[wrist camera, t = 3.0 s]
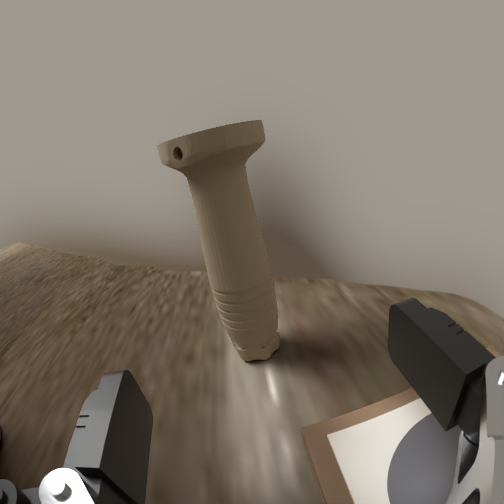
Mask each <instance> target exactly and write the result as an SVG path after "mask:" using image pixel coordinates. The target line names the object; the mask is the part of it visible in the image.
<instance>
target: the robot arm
mask: <svg viewBox="0 0 504 504" xmlns="http://www.w3.org/2000/svg"><path fill="white" fill-rule="evenodd" d="M388 350H389V354H390V357H391V359H392V361H393V363H394V364H395V365H396V366H397V368H398V369H399V370H400V372H401V373H402V374H403V376H404V377H405V378H406V379H407V381H408V382H409V383H410V385H411V386H412V387H413V389H414V390H415V391H416V393H417V394H418V395H419V397H420V398H421V399H422V401H423V402H424V403H425V405H426V406H427V407H428V409H429V410H430V411H431V413H432V414H433V415H434V417H435V418H436V419H437V421H438V422H439V423H440V425H441V426H442V428H443V429H444V430H445V432H446V431H448V430H450V429H451V428H453V427H455V426H456V425H459V427H460V428H461V429H462V430H461V433H460V436H459V445H458V454H457V461H456V468H455V474H454V480H453V485H452V489H451V492H450V495H449V497H448V499H447V502H446V504H504V356H500V357H497V358H496V357H495V356H494V355H493V354H491V353H490V352H489V351H488V350H487V349H486V348H485V347H484V346H483V345H481V344H480V343H479V342H478V341H477V340H476V339H475V338H473V337H472V336H471V335H470V334H469V333H468V332H467V331H464V329H463V328H462V327H461V326H460V325H458V324H456V322H455V321H454V320H452V319H451V318H450V317H449V316H448V315H447V314H445V313H443V312H441V311H438V310H436V309H433V308H428V309H427V308H426V307H425V306H424V305H423V304H421V303H420V302H419V301H418V300H417V299H415V298H410V299H407V300H405V301H402V302H399V303H396V304H394V305H392V306H391V307H390V310H389V333H388ZM152 425H153V416H152V411H151V408H150V405H149V403H148V402H147V400H146V398H145V396H144V395H143V393H142V391H141V390H140V388H139V386H138V384H137V382H136V381H135V379H134V377H133V375H132V374H131V372H130V371H128V370H123V371H116V372H109V373H105V374H104V375H103V376H102V379H101V382H100V385H99V388H98V390H94V391H93V392H92V393H91V394H90V396H89V397H88V398H87V399H86V401H85V402H84V404H83V407H82V410H81V413H80V418H78V421H77V424H76V427H77V428H76V429H75V430H74V433H73V436H72V439H71V442H70V446H69V449H68V452H67V455H66V459H65V462H64V465H63V468H61V469H56V470H54V471H52V472H50V473H49V474H48V475H46V476H45V478H44V479H43V480H42V482H41V484H40V487H35V488H30V489H24V490H20V489H19V488H17V487H16V486H15V485H14V484H13V483H12V482H10V481H9V480H6V479H0V504H145V497H146V484H147V472H148V461H149V451H150V442H151V433H152ZM0 439H1V430H0Z"/></svg>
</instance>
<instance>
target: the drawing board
mask: <svg viewBox="0 0 504 504" xmlns="http://www.w3.org/2000/svg"><path fill="white" fill-rule="evenodd" d="M486 349H487V350H488V351H489V352H490V353H491V354H493V355H494V356H495V357H496V358H497V357H500V356H501V355H500V354H498V353H497V352H496V351H495V350H494V349H493V348H492V347H491V346H489V347H488V348H486ZM461 430H462V429H461V428H460V427H459V425H456V426H455V427H453V428H451V429H450V430H448V431H446V432H445V430H444V429H443V428H442V426H441V425H440V423H439V422H438V421H437V419H436V418H435V417H434V415H433V414H432V413H431V411H430V410H429V409H428V407H427V406H426V405H425V403H424V402H423V401H422V399H421V398H420V397H419V395H418V394H417V393H416V391H415V390H414V389H413V387H412V388H410V389H407V390H405V391H403V392H401V393H398V394H396V395H394V396H391V397H389V398H386V399H384V400H382V401H379V402H377V403H374V404H371V405H369V406H366V407H363V408H361V409H358V410H355V411H352V412H350V413H347V414H344V415H341V416H338V417H335V418H332V419H329V420H326V421H322V422H319V423H316V424H312V425H309V426H306V427H302V428H301V431H302V437H303V443H304V447H305V450H306V453H307V456H308V459H309V462H310V465H311V468H312V471H313V474H314V477H315V480H316V483H317V486H318V489H319V491H320V494H321V497H322V500H323V503H324V504H446V502H447V499H448V497H449V495H450V492H451V489H452V485H453V480H454V474H455V468H456V461H457V454H458V445H459V436H460V433H461Z"/></svg>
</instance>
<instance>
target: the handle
mask: <svg viewBox="0 0 504 504" xmlns="http://www.w3.org/2000/svg"><path fill="white" fill-rule="evenodd" d="M264 141H265V134H264V129H263V124H262V120H255V121H247V122H240V123H235V124H229V125H225V126H220V127H216V128H211V129H207V130H204V131H199V132H196V133H192V134H188V135H185V136H182V137H178V138H175V139H172V140H169V141H166V142H163V143H161V144H159V145H157V147H158V151H159V156H160V159H161V162H162V164H164V165H166V166H168V167H170V168H173V169H176V170H178V171H180V172H182V173H183V174H184V175H185V176H186V177H187V180H188V183H189V186H190V190H191V193H192V198H193V203H194V208H195V213H196V218H197V222H198V227H199V232H200V238H201V243H202V248H203V252H204V258H205V262H206V267H207V272H208V277H209V282H210V286H211V289H212V293H213V296H214V299H215V303H216V306H217V309H218V311H219V314H220V317H221V319H222V322H223V324H224V326H225V329H226V331H227V333H228V335H229V336H230V338H231V340H232V343H233V345H234V347H235V349H236V350H237V351H238V353H239V355H240V357H241V359H243V360H245V361H251V360H257V359H262V360H266V359H268V358H270V357H271V354H272V353H273V352H274V351H275V350H278V348H279V346H280V335H279V332H276V331H277V328H278V313H277V302H276V293H275V288H274V283H273V277H272V273H271V268H270V265H269V261H268V257H267V253H266V250H265V246H264V243H263V239H262V235H261V231H260V228H259V224H258V220H257V216H256V212H255V209H254V205H253V200H252V197H251V193H250V189H249V185H248V181H247V174H246V167H245V163H246V161H247V160H248V158H249V157H250V156H251V155H252V154H253V153H254V152H256V151H257V150H258V149H259V148H260V147H261V146H262V144H263V143H264Z"/></svg>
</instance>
